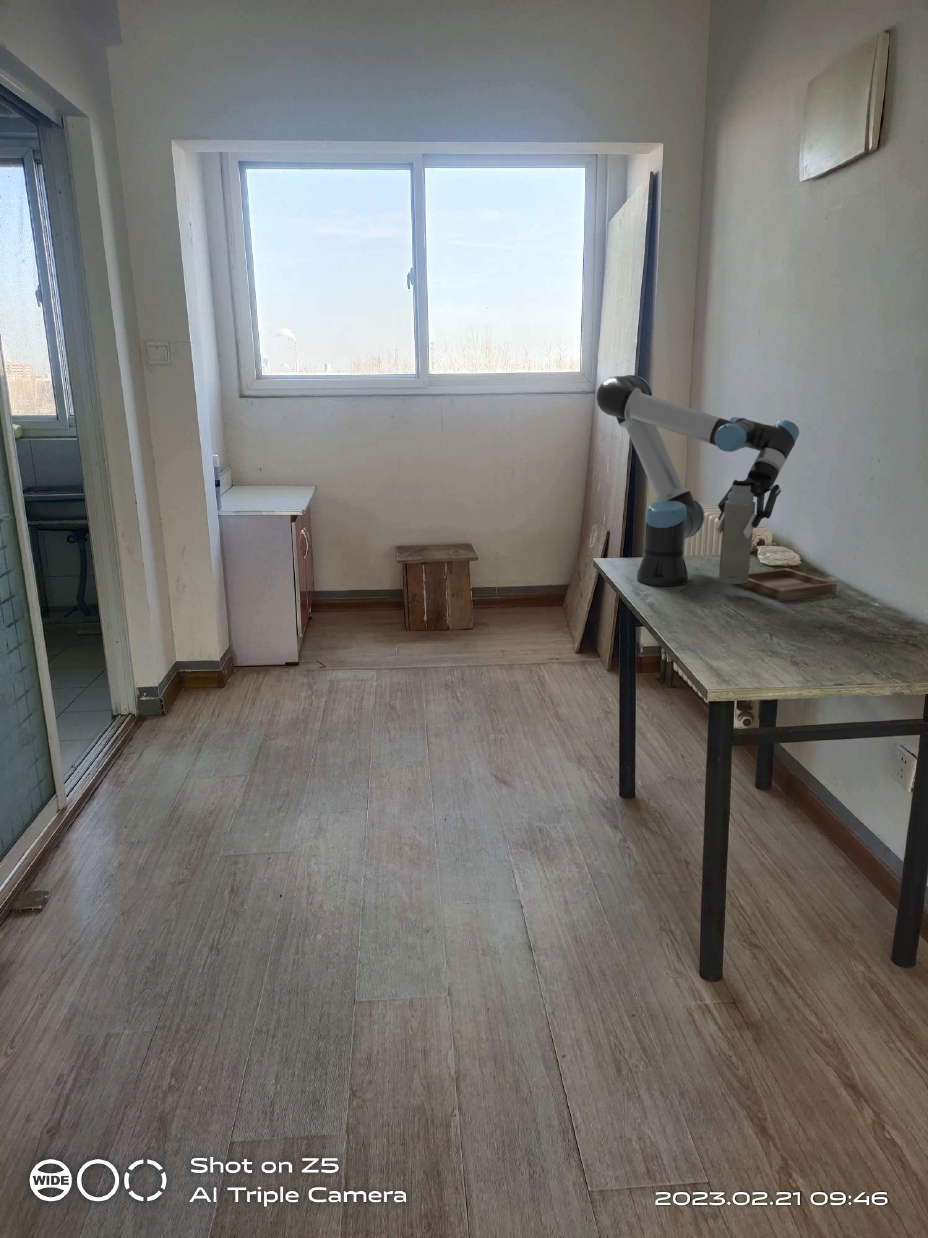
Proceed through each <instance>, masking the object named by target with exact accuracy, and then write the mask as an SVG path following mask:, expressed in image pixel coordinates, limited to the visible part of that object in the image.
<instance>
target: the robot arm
mask: <svg viewBox="0 0 928 1238" xmlns="http://www.w3.org/2000/svg"><path fill="white" fill-rule="evenodd" d="M652 390H653V389H652V387H651V385H650V384H649V382H648V381H647V380H645V379H644V378H643V377H641V376H638V375H634V374H633V375H632V374H631V375H630V374H627V375H622V376H621V375H619V376H617V375H616V376H612V377H608V378H607V379H605V380H604V381H602V383H601V384H600V385H599V387H598V389H597V392H596V402H597V406H598V407H599V409H600V410H601V411H602V412H603V413H605V414H606V415H608V416H611V417H615V418H616V420H617V422H618V425H619V427H622V428H625V430H626V431H627V433H628V435H629V438H630V440H631V442H632V445H633V447H634V449H635V452H636V454H637V456H638V459H639V461H640V464H641V465H642V468H643V470H644V472H645V475H646V477H647V479H648V481H649V484H650V486H651V488H652V491H653V493H654V495H655V498H656V499H655V502H653V503H651V504H649V505H648V506H647V509H646V514H645V523H644V524H645V527H644V549H643V556H642V559H641V562H640V565H639V567H638V569H637V572H636V580H637V581H638V582H639V581H640V583H642V584H645V585H649V586H650V585H651V586H656V585H657V586H658V587H674V585H677V586H682V585H685V584H687V583H688V579H689V573H688V569H687V566H686V561H685V558H684V551H685V540H686V539H689V538H690V537H693V536H694V535H696V534H697V533H698V532H699V531H700V530H701V529H702V527H703V525H704V523H705V517H706V516H705V515H706V514H705V510H704V507H703V506H702V505H701V503H700V502H699V501H698V500H695V499H694V497H693V494H692V493H691V490H690V489H688V488H686V487H683V485H682V482H681V479H680V478H679V475H678V474H677V471H676V468H675V466H674V464H673V461H672V460H671V457H670V455H669V453H668V450H667V448H666V445H665V443H664V441H663V439H662V436H661V434H660V432H659V431H660V430H659V429H658V428H662V429H665V430H668V431H671V432H674V433H677V434H679V435H683V436H686V437H689V438H692V439H695V440H699V441H702V442H705V443H707V444H710V445H713V446H715V447H717V448H718V449H719V450H721V451H723V452H727V453H731V452H736V451H738V450H740V449H745V448H749V449H752V450H756V451H759V452H758V454H757V457H756V458H755V460H754V462H753V464H752V466H751V467H750V469H749V471H748V473H747V477H746V478H745V479H743V481H749V482H752V485H751V486H750V487H751V493H753V494H754V495H753V496H754V497H753V498H756V511H755V513H753V515H752V516H751V518H750V520H749V522H748V524H747V526H746V528H745V529H744V531H743V533H744V535H745V537H746V538H749V536H750V534H751V533H752V531H754V528H756V529H757V528H758V526H759V525H760V523H761V521H762V520H763V519H765V518H766V519H770V518H771V515H772V514H773V511H774V508H775V503H776V501H777V498H778V496H779V495H780V494H781V492H782V491H781V487H780V485H779V484H775V482H776V480H777V478H778V476H779V474H780V473H781V470H782V468H783V467H784V465H785V463H786V461H787V459H788V457H789V455H790V454H791V452H792V449H794V446H795V445H796V442H797V439H798V437H799V435H800V429H799V427H798V426H797V424H795V423H794V422H792V421H791V420H787V419H784V420H782V419H780V420H778V421H776V422H775V423H774V424H773V425H771V424H764V423H761V422H756V421H754V420H750V419H747V418H744V417H739V416H732V417H730V419H729V420H728V419H725V418H721V417H718V416H717V415H711V414H709V413H706V412H703V411H700V410H696V409H693V408H690V407H687V406H685V405H681V404H677V403H674V402H672V401H667V400H665V399H662V398H658V397H655V396H653V391H652ZM734 481H738V479H734V480H733V481H732V485H731V486H730V488H729V489H728V491H727V492H726V493H725V495H724V496H723V498H722V499H721V500H720V501H719V503H718V505H717V506H718V509H719V511H720V513H719V516H718V523H717V524H716V526H715V529H716V533H717V534H719V535H722V534H723V522H724V511H725V501H727V500H728V495H729V493H730V492H732V487H733V482H734ZM768 492H769V495H768V497H767V500H766V503H765V495H766V494H767V493H768ZM764 506H765V507H764Z"/></svg>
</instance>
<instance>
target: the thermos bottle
mask: <svg viewBox="0 0 928 1238" xmlns="http://www.w3.org/2000/svg"><path fill="white" fill-rule="evenodd" d="M733 481H734V480H733ZM733 481H732V484H733V487H732V486H731V487H732V492H730V493H729V495H728V500H727V501H725V511H724V522H723V531H722V533H721V535H722V536H721V548H720V558H719V559H720V561H719V571H718V572H719V573H718V580H719V581H720V582H722V583H726V584H731V585H733V584H742V583H746V582H748V575H749V573H750V564H751V560H750V559H751V551H752V550H751V549H752V543H753V533H754V532H753V531H754V530H753V531H752V533H751V534H750V536H749V538H746V537H745V535H744V533H743V531H744V529H745V528H746V526H747V524H748V522H749V520H750V518H751V516H752V515H753V513H754V514H756V502H755V501H754V499H755V497H754V496H753V495H754V494H753V493H751V487H750V486H751V485H752V482H749V481H744V480H737V481H734V482H733Z"/></svg>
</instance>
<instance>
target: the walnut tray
mask: <svg viewBox="0 0 928 1238" xmlns="http://www.w3.org/2000/svg"><path fill="white" fill-rule="evenodd" d="M732 585H733V586H735V587H738V588H740V589H743V590H746V591H749V592H752V593H755V594H758V595H760V596H764V597H766V598H769V599H772V600H774V601H778V602H781V603H782V602H787V601H792V600H801V599H808V598H814V597H815V598H816V597H821V596H822V595H823V596H828V595H827V594H830V595H836V594H835V593H837V585H838V583H836V582H833V581H830V580H826V579H823V578H820V577H818V576H815V575H814V576H813V575H811V574H807V573H803V572H801V571H797V570H794V569H790V568H787V567H786V568H778V569H771V570H761V571H754V572H749V575H748V582H746V583H742V584H732Z"/></svg>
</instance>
